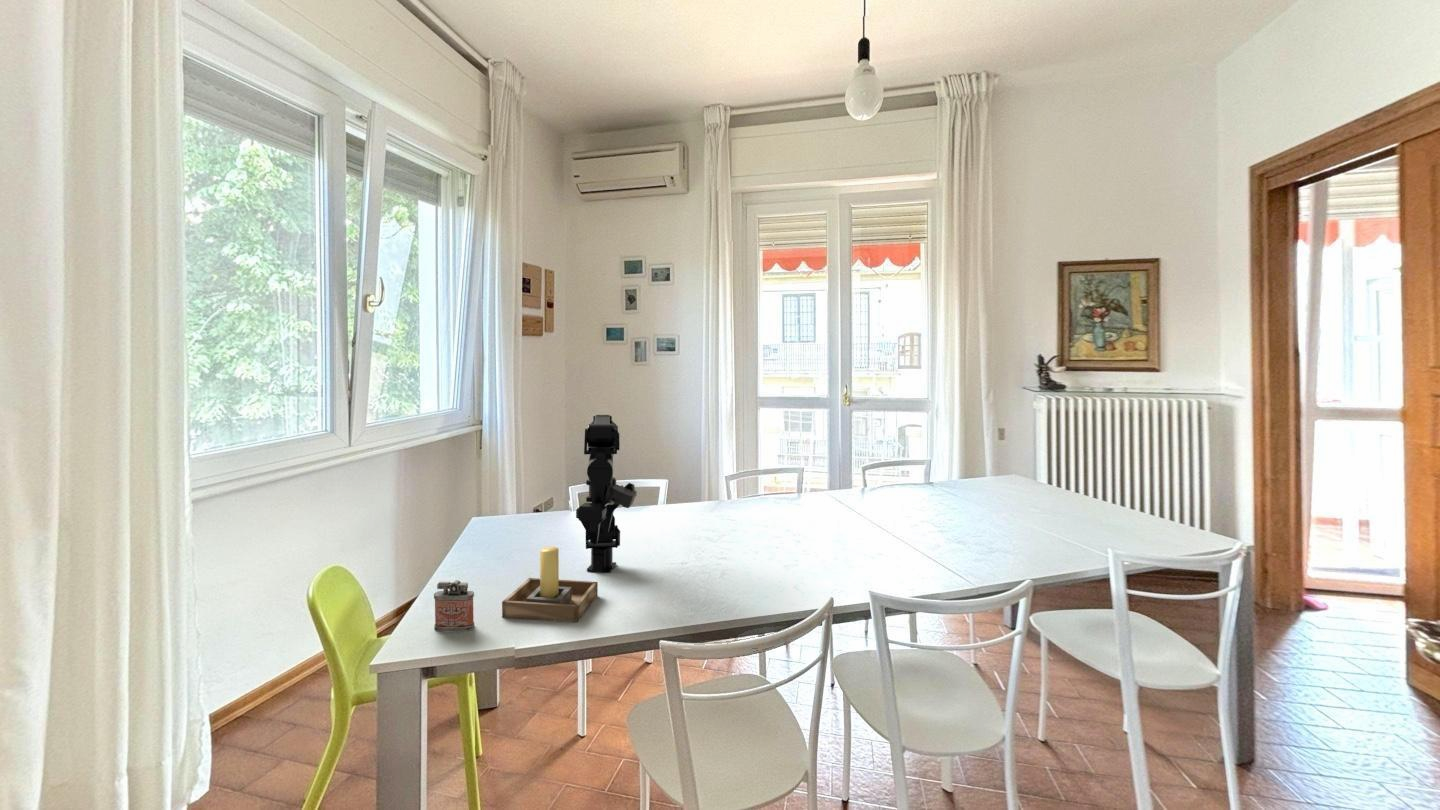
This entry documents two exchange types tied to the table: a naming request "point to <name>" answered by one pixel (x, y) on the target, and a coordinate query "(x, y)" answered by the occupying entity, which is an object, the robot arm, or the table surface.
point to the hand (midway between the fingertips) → (600, 538)
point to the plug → (549, 572)
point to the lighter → (453, 607)
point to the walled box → (550, 601)
